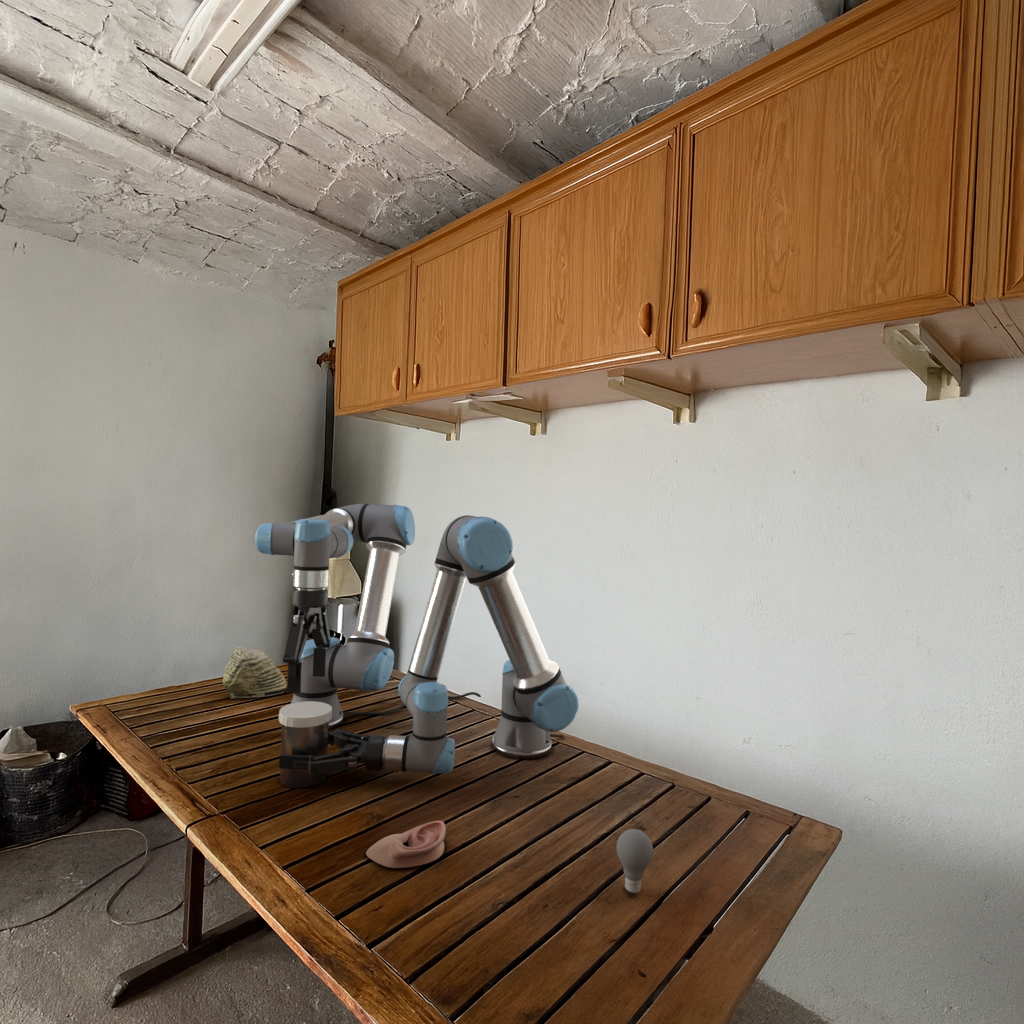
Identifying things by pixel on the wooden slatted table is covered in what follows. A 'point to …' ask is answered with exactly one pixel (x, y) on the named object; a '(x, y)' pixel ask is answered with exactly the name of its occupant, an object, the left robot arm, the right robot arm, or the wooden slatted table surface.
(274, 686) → the fossil
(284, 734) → the jar
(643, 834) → the light bulb
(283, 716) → the lid
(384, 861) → the anatomical model
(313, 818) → the wooden slatted table surface
